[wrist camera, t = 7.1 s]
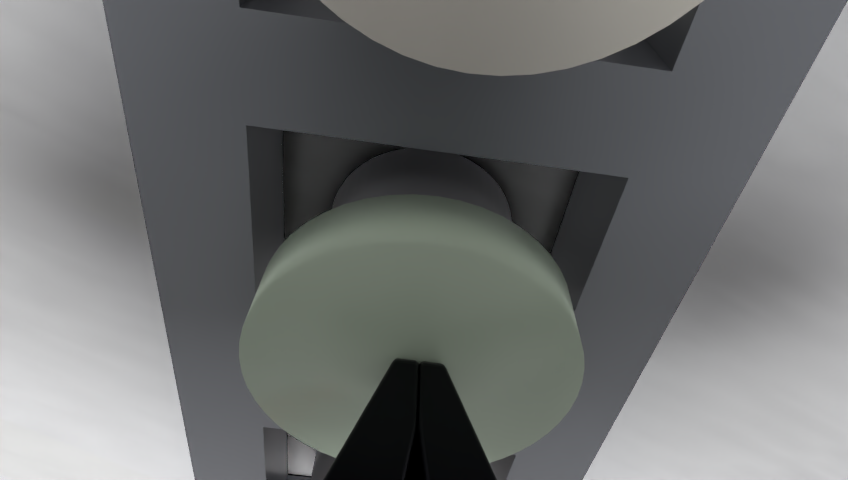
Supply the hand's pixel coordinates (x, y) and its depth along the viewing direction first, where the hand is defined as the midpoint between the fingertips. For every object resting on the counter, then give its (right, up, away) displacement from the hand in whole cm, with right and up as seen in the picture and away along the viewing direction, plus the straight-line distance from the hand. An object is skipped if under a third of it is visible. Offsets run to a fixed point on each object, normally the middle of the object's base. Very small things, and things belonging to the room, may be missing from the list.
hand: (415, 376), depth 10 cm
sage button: (0, +2, +3) cm, 4 cm away
